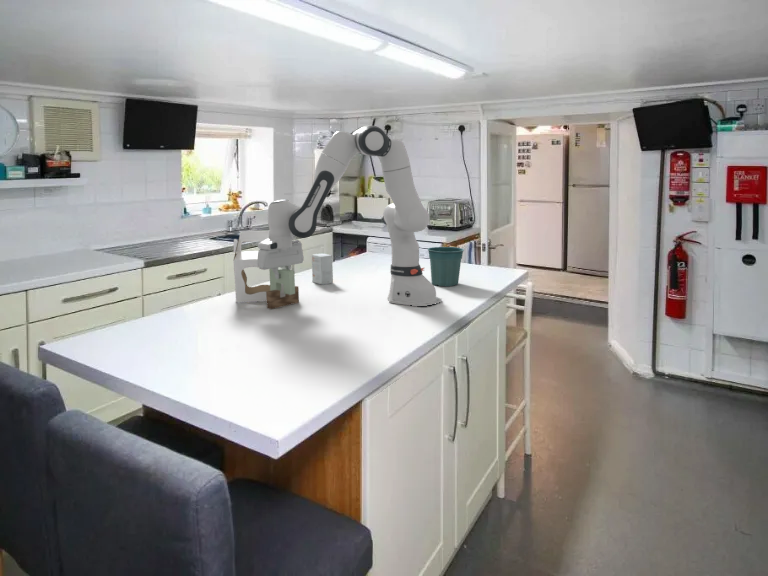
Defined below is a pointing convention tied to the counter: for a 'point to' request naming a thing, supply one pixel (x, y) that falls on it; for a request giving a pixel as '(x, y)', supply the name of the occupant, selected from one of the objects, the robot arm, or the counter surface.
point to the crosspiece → (283, 281)
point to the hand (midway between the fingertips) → (282, 277)
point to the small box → (322, 268)
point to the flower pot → (445, 265)
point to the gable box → (246, 261)
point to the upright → (281, 298)
